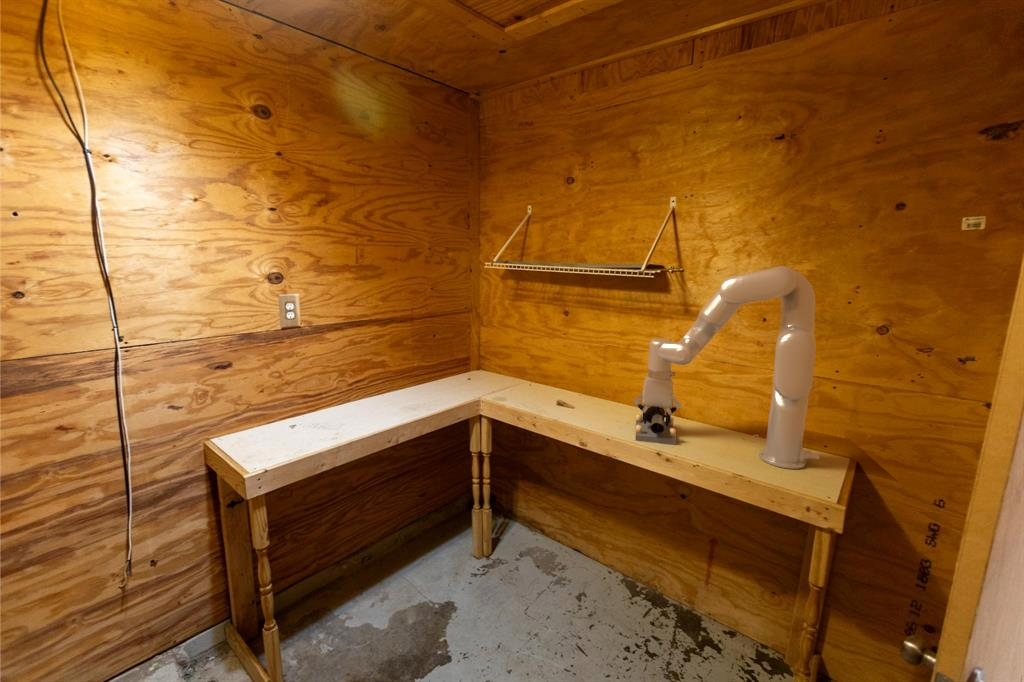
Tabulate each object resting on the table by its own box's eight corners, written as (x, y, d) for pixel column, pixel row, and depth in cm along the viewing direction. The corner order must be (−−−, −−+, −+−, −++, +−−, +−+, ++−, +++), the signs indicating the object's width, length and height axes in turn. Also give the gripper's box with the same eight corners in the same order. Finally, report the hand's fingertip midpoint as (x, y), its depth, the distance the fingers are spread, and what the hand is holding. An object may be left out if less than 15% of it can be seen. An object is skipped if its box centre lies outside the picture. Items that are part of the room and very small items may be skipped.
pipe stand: (672, 427, 168) (673, 415, 167) (675, 444, 153) (676, 432, 152) (635, 424, 172) (636, 412, 171) (635, 440, 156) (636, 428, 156)
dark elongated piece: (665, 436, 153) (665, 419, 152) (644, 433, 155) (644, 417, 154) (665, 417, 169) (666, 403, 168) (646, 416, 171) (647, 401, 170)
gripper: (684, 373, 159) (680, 422, 163) (633, 370, 164) (630, 417, 167) (686, 379, 152) (682, 429, 156) (633, 375, 157) (630, 424, 160)
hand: (655, 423), depth 161 cm, fingers closed on dark elongated piece, 6 cm apart
